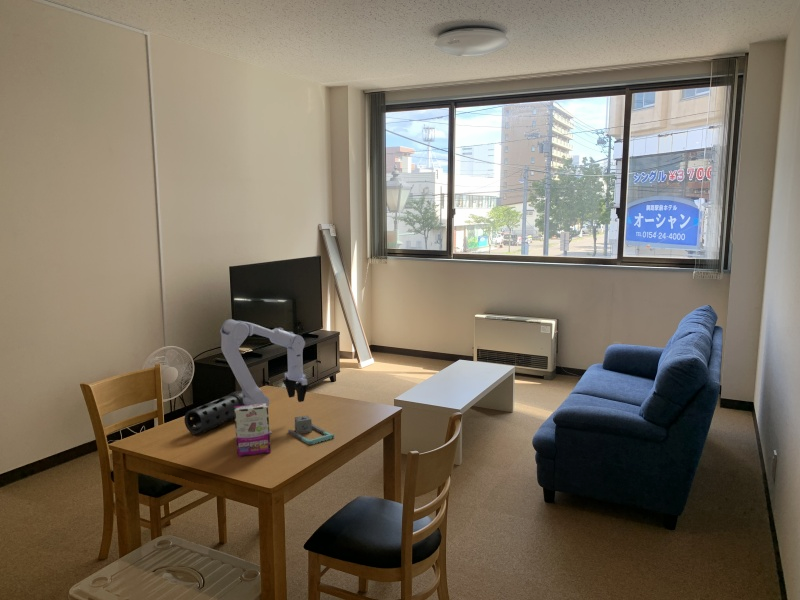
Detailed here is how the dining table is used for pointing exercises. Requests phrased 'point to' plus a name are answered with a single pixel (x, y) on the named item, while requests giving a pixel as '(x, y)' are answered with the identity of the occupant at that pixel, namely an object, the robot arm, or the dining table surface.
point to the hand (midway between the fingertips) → (296, 399)
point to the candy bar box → (252, 429)
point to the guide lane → (316, 440)
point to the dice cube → (303, 424)
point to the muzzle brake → (213, 413)
